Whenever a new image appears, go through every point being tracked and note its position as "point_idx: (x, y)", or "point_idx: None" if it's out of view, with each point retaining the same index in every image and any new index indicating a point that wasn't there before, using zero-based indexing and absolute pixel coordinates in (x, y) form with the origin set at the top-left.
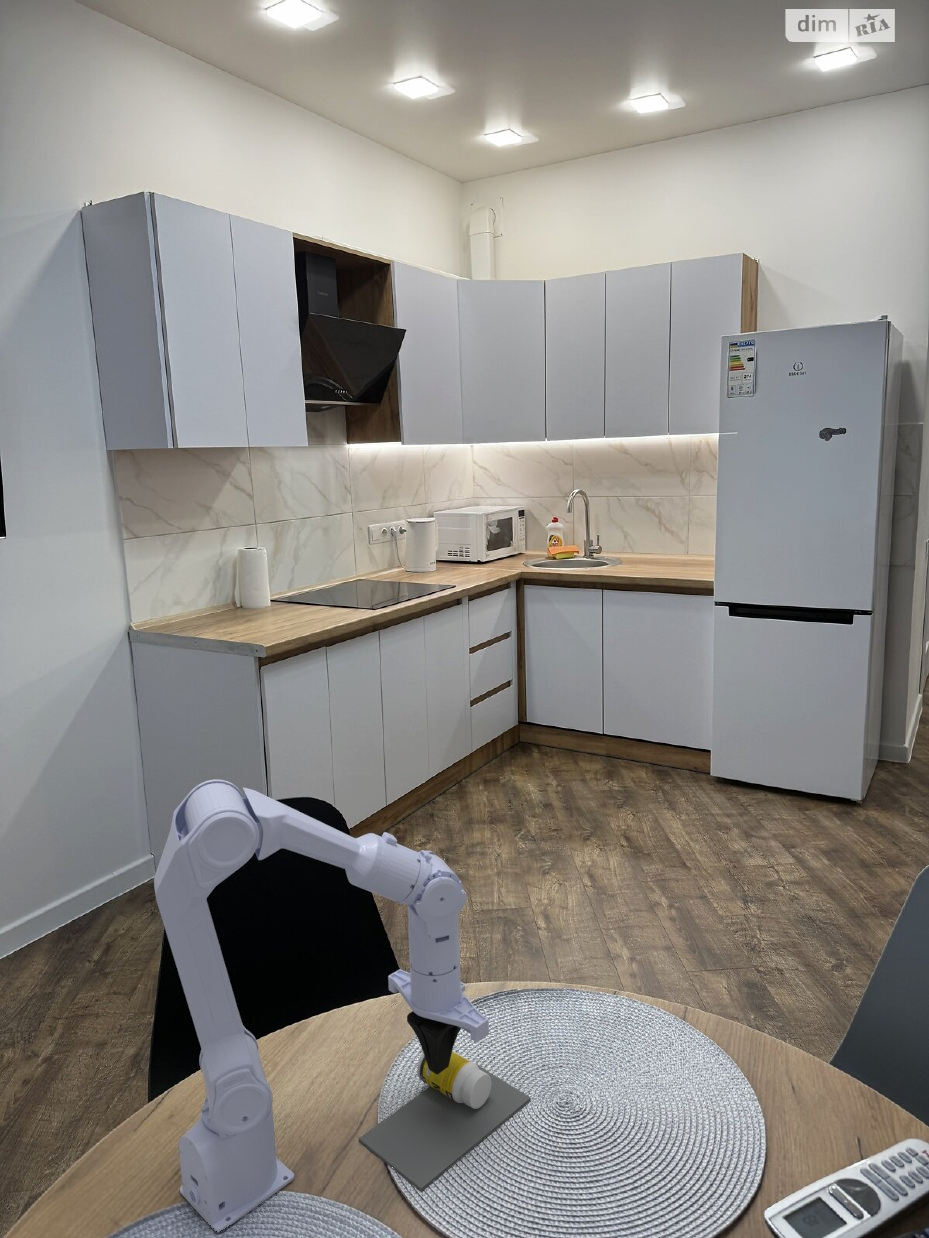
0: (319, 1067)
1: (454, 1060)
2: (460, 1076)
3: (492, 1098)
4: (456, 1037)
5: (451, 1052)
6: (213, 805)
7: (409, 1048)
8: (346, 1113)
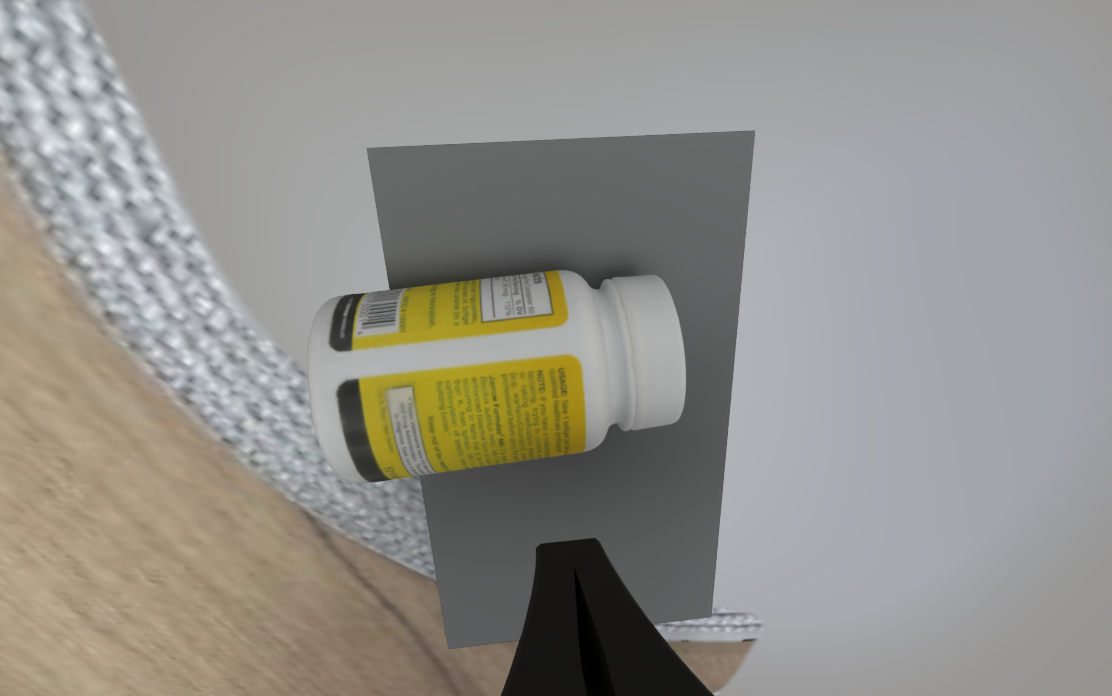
0: (32, 589)
1: (521, 419)
2: (602, 435)
3: (635, 253)
4: (696, 677)
5: (628, 592)
6: None
7: (112, 286)
8: (321, 618)
